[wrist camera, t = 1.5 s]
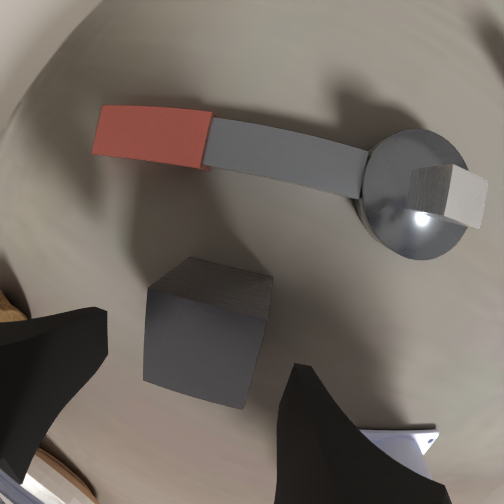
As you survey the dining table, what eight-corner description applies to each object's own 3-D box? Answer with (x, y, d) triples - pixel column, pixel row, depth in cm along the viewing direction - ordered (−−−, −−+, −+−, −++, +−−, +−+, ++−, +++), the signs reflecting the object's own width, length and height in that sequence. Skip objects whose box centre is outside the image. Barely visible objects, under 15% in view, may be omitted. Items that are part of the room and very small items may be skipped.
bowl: (-7, 398, 22) (-33, 419, 16) (106, 472, 21) (83, 509, 15) (31, 471, 27) (15, 490, 21) (126, 524, 25) (114, 550, 19)
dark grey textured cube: (254, 350, 16) (242, 409, 11) (179, 330, 16) (143, 380, 11) (273, 277, 15) (267, 319, 10) (189, 257, 15) (147, 287, 10)
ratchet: (105, 186, 15) (36, 189, 9) (127, 84, 13) (69, 52, 8) (438, 262, 14) (496, 294, 8) (460, 158, 12) (525, 150, 7)
